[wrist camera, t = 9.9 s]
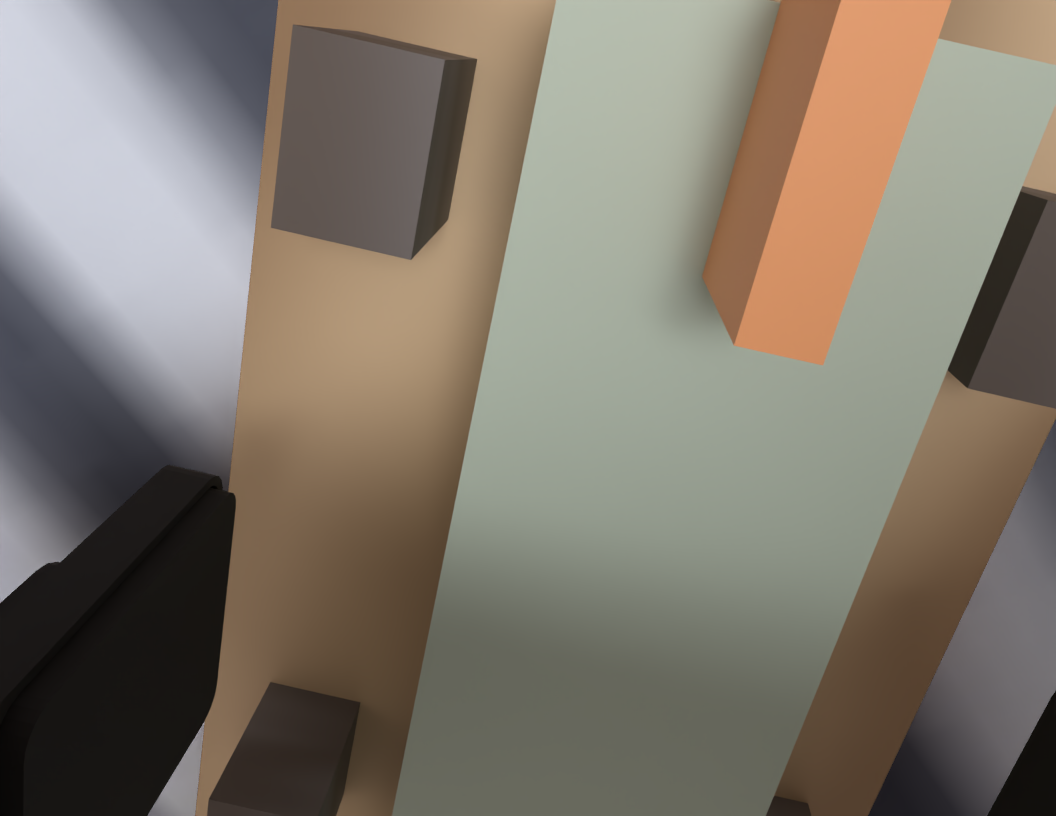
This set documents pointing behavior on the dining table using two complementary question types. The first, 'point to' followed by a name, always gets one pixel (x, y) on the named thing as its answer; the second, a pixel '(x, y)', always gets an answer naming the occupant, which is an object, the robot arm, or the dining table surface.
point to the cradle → (450, 393)
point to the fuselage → (703, 390)
